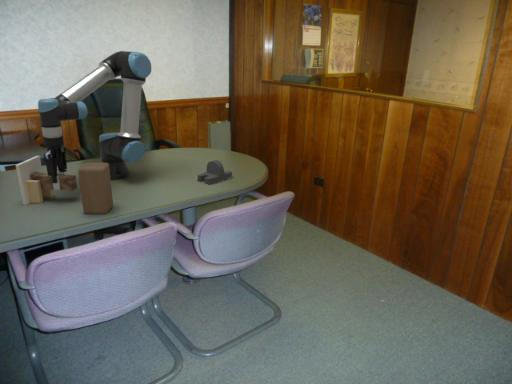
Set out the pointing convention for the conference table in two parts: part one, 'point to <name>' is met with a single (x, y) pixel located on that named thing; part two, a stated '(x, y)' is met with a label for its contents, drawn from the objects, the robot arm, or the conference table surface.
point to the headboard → (31, 181)
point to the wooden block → (95, 188)
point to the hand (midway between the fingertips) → (60, 187)
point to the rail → (46, 182)
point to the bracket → (214, 173)
